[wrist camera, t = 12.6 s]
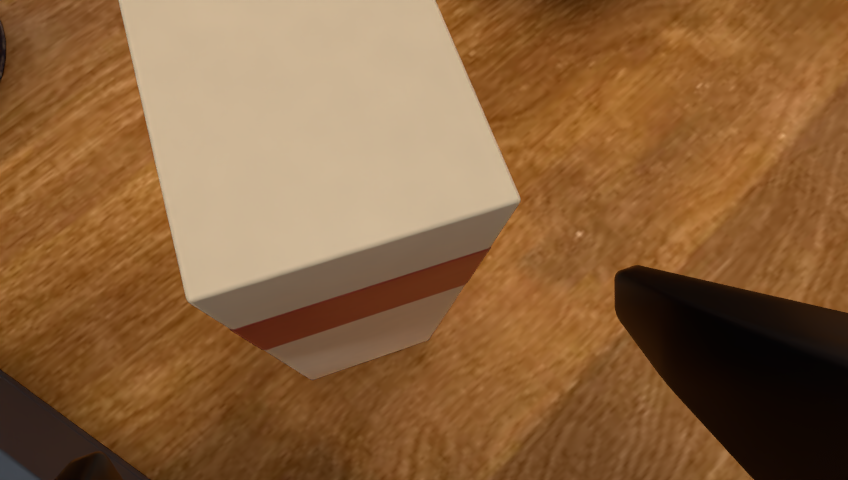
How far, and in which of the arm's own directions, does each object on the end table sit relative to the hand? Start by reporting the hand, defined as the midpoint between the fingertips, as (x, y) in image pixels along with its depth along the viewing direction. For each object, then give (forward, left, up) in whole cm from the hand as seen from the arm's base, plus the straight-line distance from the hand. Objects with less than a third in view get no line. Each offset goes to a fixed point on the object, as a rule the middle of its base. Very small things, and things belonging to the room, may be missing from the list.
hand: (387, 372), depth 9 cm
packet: (+3, -2, -8) cm, 9 cm away
